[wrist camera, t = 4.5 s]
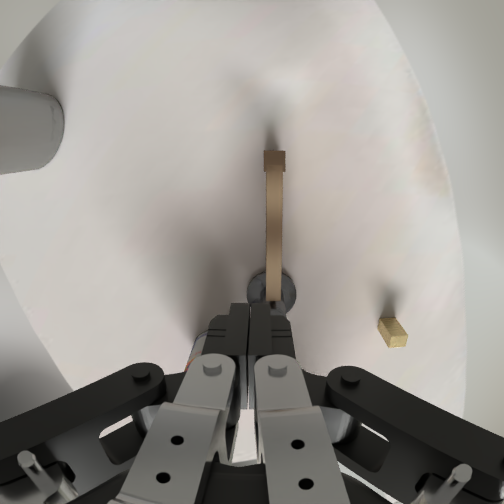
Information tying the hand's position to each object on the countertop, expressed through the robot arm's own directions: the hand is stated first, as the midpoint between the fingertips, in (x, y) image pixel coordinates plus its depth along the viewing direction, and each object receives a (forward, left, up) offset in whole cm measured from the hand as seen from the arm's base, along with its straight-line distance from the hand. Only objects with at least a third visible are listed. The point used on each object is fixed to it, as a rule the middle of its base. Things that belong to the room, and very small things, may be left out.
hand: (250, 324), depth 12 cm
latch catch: (+15, -11, -19) cm, 26 cm away
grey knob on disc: (+1, -7, -19) cm, 20 cm away
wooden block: (+1, +1, -18) cm, 19 cm away
